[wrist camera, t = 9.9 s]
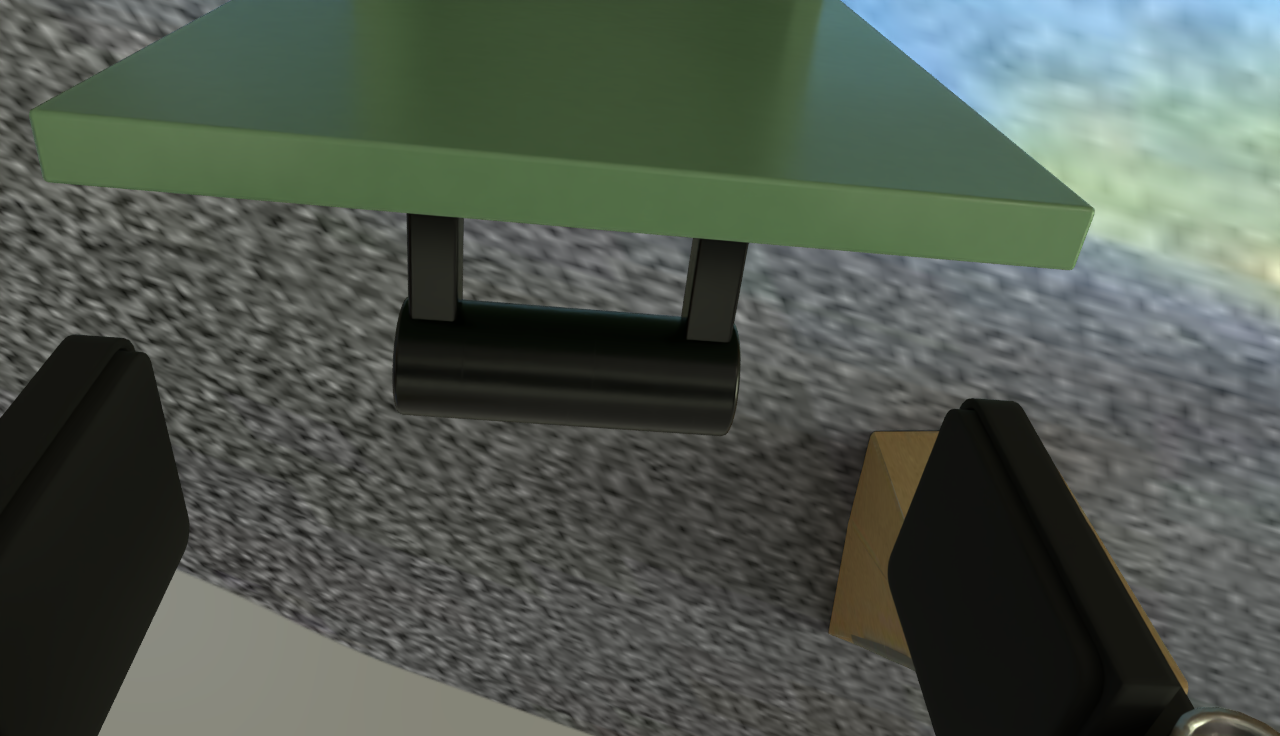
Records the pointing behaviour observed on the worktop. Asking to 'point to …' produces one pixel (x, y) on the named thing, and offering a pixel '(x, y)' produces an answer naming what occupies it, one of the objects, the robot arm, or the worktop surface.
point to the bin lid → (570, 168)
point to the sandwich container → (871, 538)
